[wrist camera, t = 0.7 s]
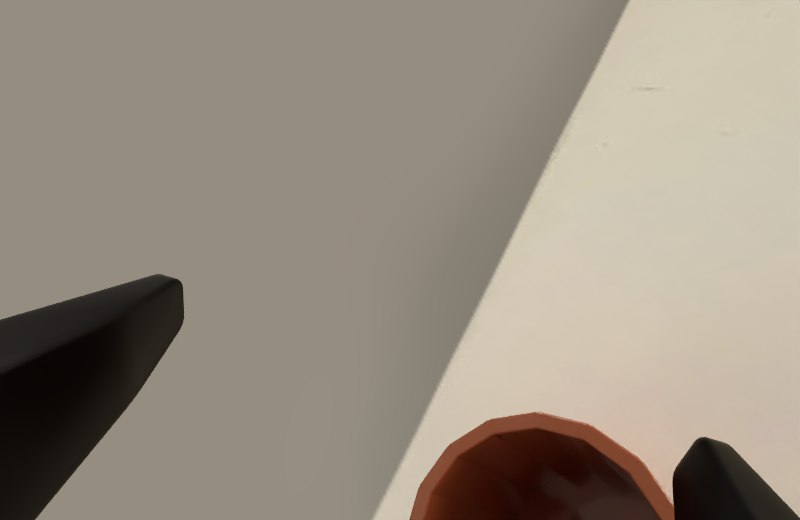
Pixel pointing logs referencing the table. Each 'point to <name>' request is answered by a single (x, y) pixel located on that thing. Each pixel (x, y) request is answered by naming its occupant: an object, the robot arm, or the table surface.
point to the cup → (539, 475)
